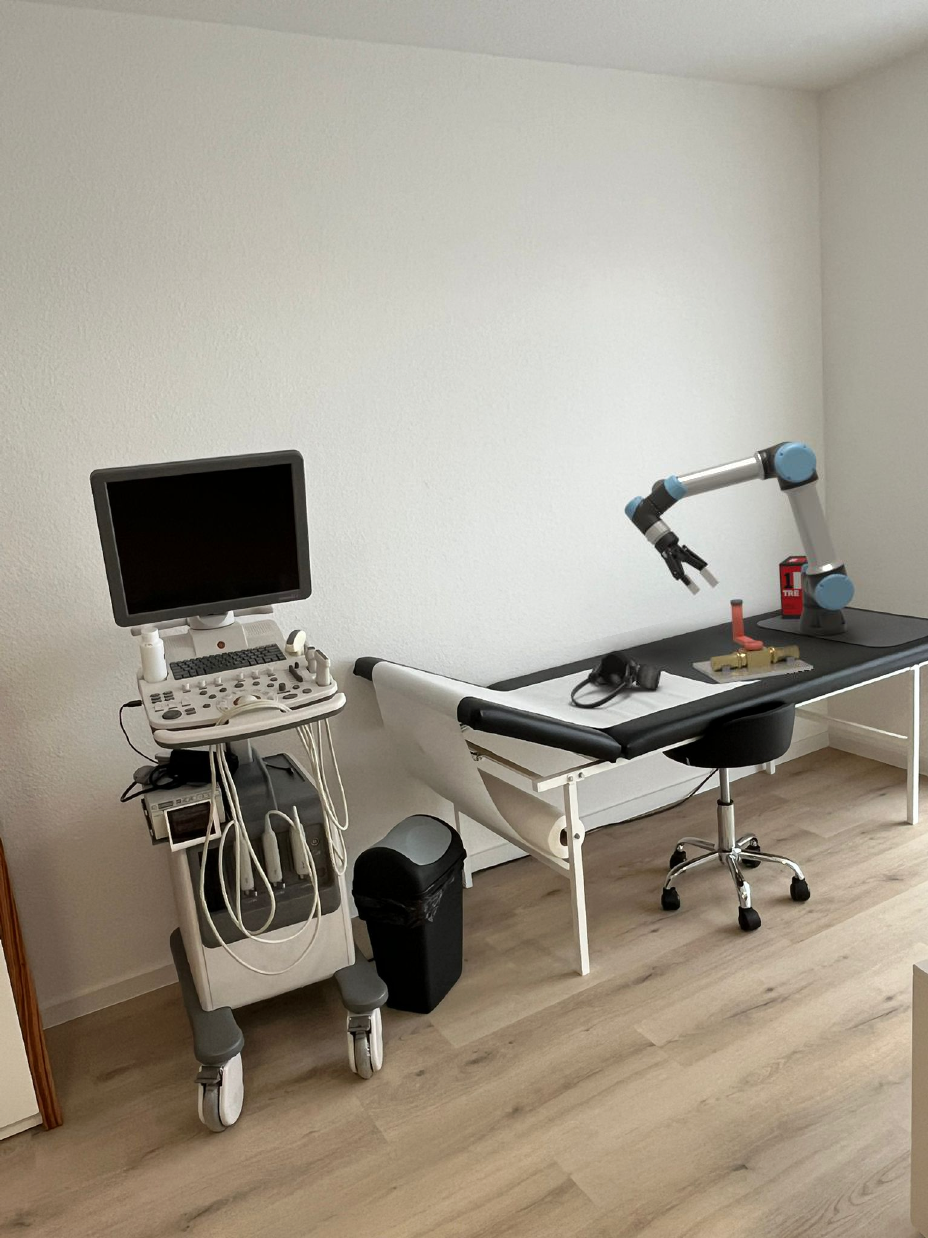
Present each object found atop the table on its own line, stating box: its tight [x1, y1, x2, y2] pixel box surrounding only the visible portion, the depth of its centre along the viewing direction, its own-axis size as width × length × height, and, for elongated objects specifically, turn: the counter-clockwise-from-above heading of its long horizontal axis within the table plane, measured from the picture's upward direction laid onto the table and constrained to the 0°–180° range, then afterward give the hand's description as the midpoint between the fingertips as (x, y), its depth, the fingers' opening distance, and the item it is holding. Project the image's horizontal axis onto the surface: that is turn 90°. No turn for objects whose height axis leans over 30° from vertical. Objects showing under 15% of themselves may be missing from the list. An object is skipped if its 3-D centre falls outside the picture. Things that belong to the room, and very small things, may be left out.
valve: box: [692, 644, 814, 684], centre depth 289 cm, size 28×21×6 cm
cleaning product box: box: [778, 555, 808, 620], centre depth 351 cm, size 16×9×20 cm, turn 149°
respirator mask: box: [570, 650, 662, 709], centre depth 279 cm, size 22×24×17 cm
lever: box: [729, 598, 764, 650], centre depth 292 cm, size 15×5×12 cm, turn 8°
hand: (707, 588), depth 302 cm, fingers open, 13 cm apart
